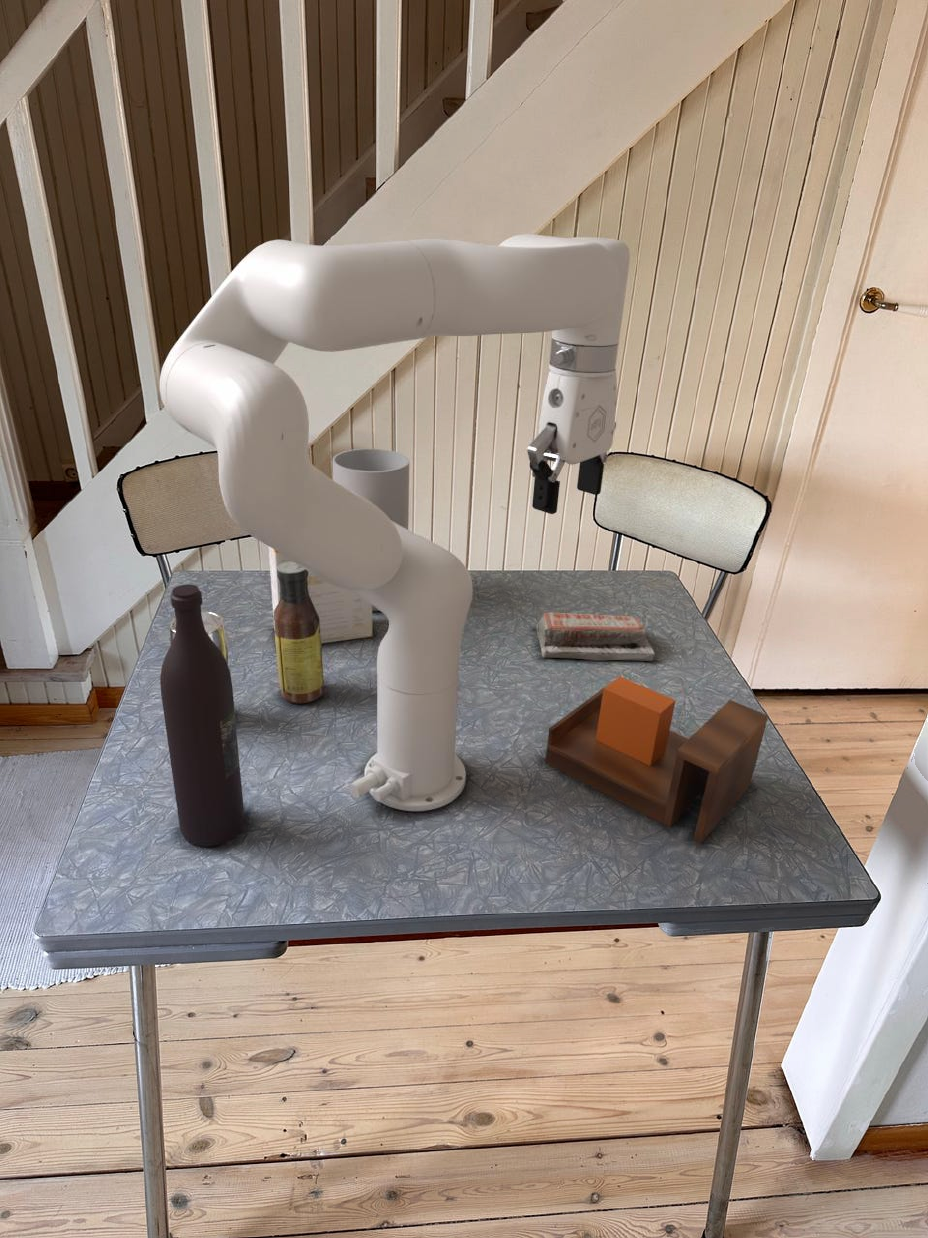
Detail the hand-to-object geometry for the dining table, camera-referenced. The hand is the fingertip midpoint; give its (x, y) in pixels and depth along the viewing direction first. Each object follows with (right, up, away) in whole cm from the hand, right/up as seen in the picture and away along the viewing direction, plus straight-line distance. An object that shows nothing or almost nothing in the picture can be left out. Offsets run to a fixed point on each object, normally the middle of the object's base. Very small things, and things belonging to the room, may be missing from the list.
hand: (567, 501), depth 103 cm
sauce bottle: (-36, -25, +18) cm, 48 cm away
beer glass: (-47, -28, +11) cm, 56 cm away
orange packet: (+9, -31, +5) cm, 33 cm away
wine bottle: (-41, -38, -7) cm, 57 cm away
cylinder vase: (-29, -11, +46) cm, 56 cm away
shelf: (+11, -34, +5) cm, 37 cm away
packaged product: (+8, -19, +35) cm, 40 cm away
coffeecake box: (-36, -17, +34) cm, 52 cm away
